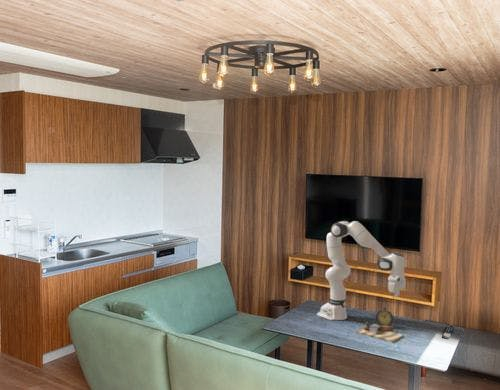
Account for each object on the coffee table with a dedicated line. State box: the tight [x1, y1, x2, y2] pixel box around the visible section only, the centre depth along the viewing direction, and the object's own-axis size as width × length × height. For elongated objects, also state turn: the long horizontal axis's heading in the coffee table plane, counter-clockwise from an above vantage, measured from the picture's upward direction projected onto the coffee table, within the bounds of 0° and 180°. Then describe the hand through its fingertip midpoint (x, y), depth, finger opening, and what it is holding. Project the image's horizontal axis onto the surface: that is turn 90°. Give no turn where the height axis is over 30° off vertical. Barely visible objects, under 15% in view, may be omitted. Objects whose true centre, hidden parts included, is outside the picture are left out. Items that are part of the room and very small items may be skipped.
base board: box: [356, 327, 404, 344], centre depth 318 cm, size 26×15×1 cm, turn 49°
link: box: [363, 321, 394, 332], centre depth 323 cm, size 19×4×5 cm, turn 84°
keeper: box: [369, 323, 382, 334], centre depth 320 cm, size 5×6×4 cm
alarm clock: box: [375, 303, 394, 326], centre depth 335 cm, size 11×5×16 cm, turn 62°
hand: (397, 296), depth 327 cm, fingers closed
